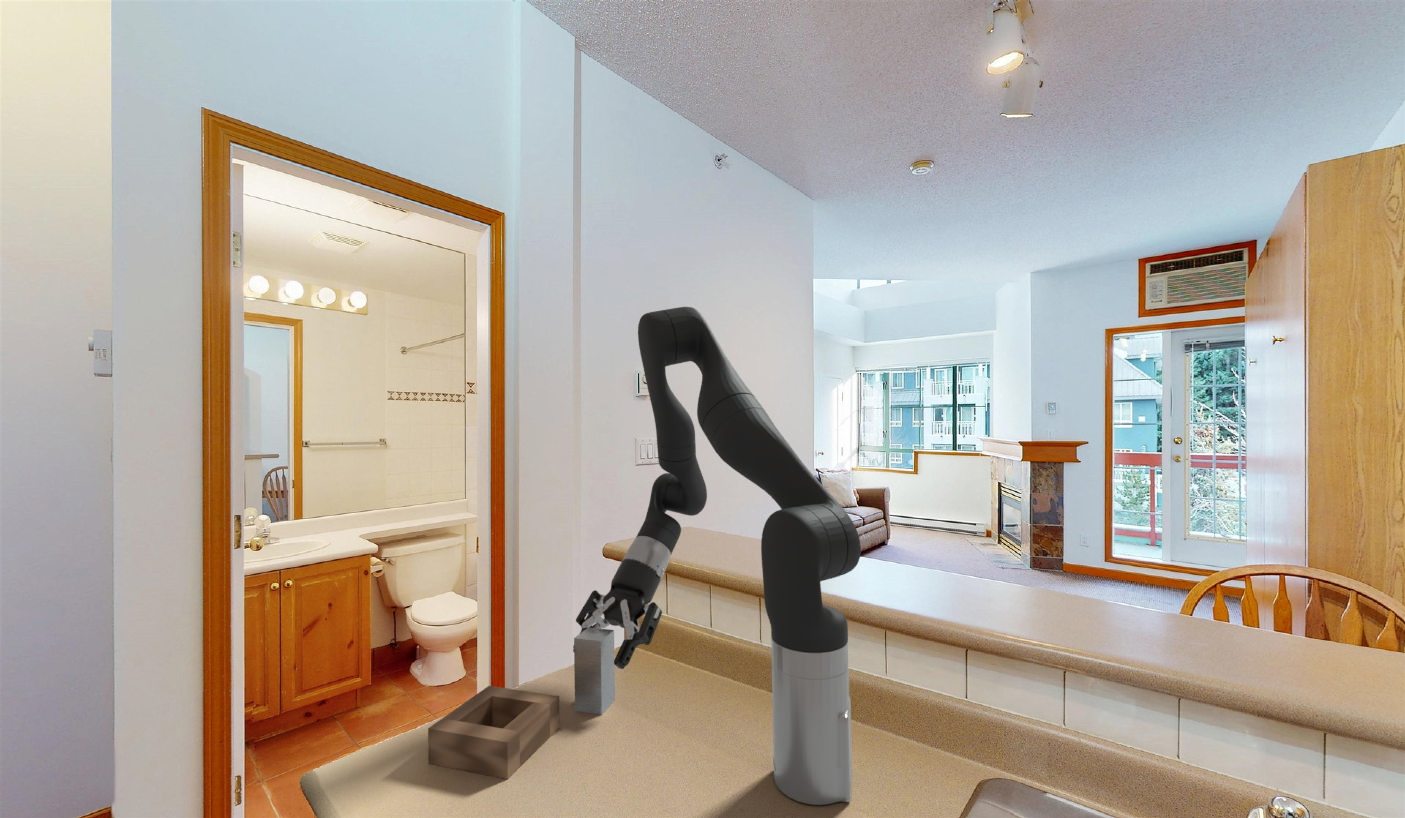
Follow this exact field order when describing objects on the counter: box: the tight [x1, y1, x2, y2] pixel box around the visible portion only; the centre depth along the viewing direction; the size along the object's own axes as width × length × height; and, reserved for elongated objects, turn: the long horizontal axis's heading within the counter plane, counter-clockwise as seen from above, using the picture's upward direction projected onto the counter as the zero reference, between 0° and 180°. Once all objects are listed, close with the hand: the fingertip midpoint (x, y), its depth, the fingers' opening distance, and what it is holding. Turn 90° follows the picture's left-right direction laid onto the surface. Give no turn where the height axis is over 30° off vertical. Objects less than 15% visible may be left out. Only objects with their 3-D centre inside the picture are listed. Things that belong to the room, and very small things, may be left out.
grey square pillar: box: [573, 627, 616, 716], centre depth 87 cm, size 4×4×11 cm
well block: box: [427, 685, 561, 780], centre depth 77 cm, size 12×12×4 cm
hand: (597, 660), depth 87 cm, fingers open, 8 cm apart
